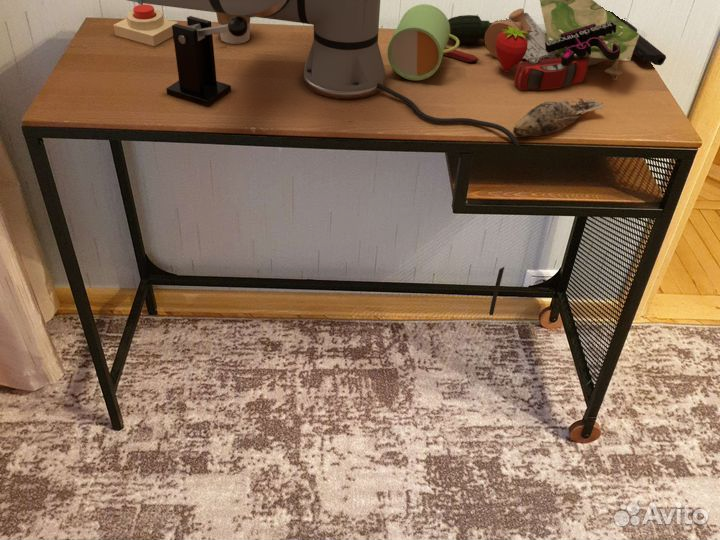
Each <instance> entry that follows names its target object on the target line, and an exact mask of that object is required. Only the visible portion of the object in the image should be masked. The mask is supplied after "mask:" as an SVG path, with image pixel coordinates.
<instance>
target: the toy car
mask: <svg viewBox="0 0 720 540" xmlns="http://www.w3.org/2000/svg"><path fill="white" fill-rule="evenodd" d="M588 62H589V58H588V57H584V56H582V57H580V56H574V60H573V62H571V63H570V64H569V65H568V66H563V65H562V64H561V57H560V58H557V57H556V58H549V59H539V60H537V59H535V58H529V59H528V60H525V61H522V62H519V63H518V64H517V67H516V70H515V73H514V82H513V83H514V84H513V85H514V86H515V87H517V89H519V90H520V91H527V90H529V91H531V90H535V91H539V90H551V89H560V88H564V87H567V86H570V85H573V84H578V83H581V82H583V81H584V79H585V77H586V73H587V71H588V67H589V66H588Z"/></svg>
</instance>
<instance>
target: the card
mask: <svg viewBox="0 0 720 540" xmlns="http://www.w3.org/2000/svg"><path fill="white" fill-rule="evenodd" d="M539 4H540V8H541V14H542V19H543V25H544V29H545V35H546V36H547V40H548V41H551V40H555V39H559V38H560V37H561V34H563V33H566V32H569V31H572V30H575V29H579V28H582V27H585V26H588V25H591V24H596V26H598V25H600V26H601V24H605V25H606V23H608V22H610V21H613V22H615V23H616V32H615V33H614V32H613V31H612V34H610V33H609V34H606V36H599V37H598V38H600V39H601V40H602V41H603V42H604V43H605V45H606V46H607V47H608V49H609V50H610V51H613V44H617V45H618V46H619V47H620V56H619V58H618V59H616V60H620V61H624V62H625V61H626V62H627V61H628V62H630V61H631V59H632V57H633V54H634V53H633V51H634V48H635V46H636V43H637V40H638V37H639V35H640V33H638V32H637V33H636V32H635V31H634V30H632V29H631V28H629V27H628V26H627V25H625V24H624V23H623V22H621V21H620V20H619V19H618V18H616V17H615V16H614V15H612V14H611V13H610V12H608V11H607V10H605V9H604V8H603V7H601V5H600V4H598V3H597V2H596V1H594V0H539ZM590 38H591V37H590ZM584 42H585V41H584ZM581 43H582V42H581ZM572 46H573V45H572ZM566 48H567V47H565V48H563V49H559V50H556V51H557V52H558V53H560V54H561V56H562V55H563V54H564V51H565V49H566ZM574 56H577V55H576V54H574ZM584 57H594V58H604V59H605V60H608V59H607V58H606V57H605V56H604V54H603V53H602V51H601V50H600V49H599V48H598V47H597V46H592V47H591V54H590V55H589V54H588V53H587V52H586V55H585V56H584Z"/></svg>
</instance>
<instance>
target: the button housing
mask: <svg viewBox="0 0 720 540" xmlns="http://www.w3.org/2000/svg"><path fill="white" fill-rule="evenodd" d="M154 12H155V17H153V18H151V19H137V18H135V17H134V10H133V9H132V10H131V11H128V12H127V14H126V18H125V19H122V20H121V21H119V22H116V23H114V24H113V25H112V26H113V31H114V36H115V37H120V38H122V39H123V38H124V39H127V40H130V41H134V42H138V43H141V44H143V45H144V44H145V45H147V46H151V47H156V46H158V45H161V44H162V43H164V42H165V41H167V40H169V39H171V38H172V37H173V30H172V25H174V24H179V22H178V21H174V20H172V19H171V20H170V19H167V18H164V13H162V11H161V10H159V9H155V8H154Z"/></svg>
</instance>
